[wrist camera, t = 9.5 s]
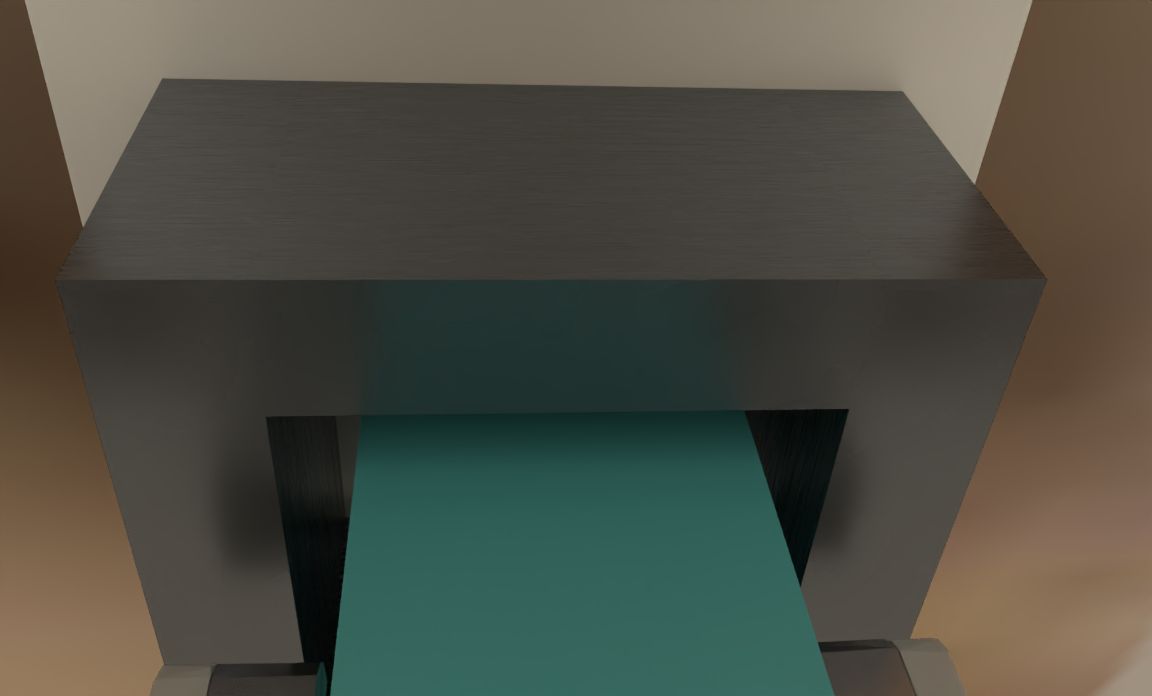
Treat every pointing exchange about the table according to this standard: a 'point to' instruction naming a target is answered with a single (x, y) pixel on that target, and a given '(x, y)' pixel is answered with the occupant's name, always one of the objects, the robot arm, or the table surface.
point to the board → (519, 60)
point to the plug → (568, 560)
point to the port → (531, 318)
